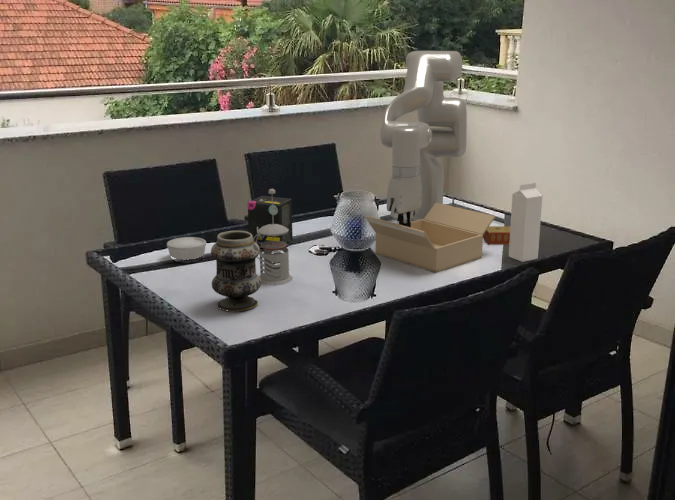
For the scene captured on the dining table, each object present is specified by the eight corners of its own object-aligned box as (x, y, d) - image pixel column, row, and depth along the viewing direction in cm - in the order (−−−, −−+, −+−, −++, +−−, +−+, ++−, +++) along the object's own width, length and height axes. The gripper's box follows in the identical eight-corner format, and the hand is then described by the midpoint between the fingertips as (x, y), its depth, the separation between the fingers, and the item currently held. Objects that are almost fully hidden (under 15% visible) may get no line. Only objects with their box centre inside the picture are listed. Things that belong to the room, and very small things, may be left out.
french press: (278, 287, 198) (275, 194, 191) (244, 280, 204) (239, 189, 197) (300, 276, 206) (298, 187, 199) (266, 270, 212) (262, 182, 205)
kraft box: (375, 253, 226) (375, 231, 224) (421, 240, 238) (421, 219, 236) (435, 272, 208) (436, 248, 206) (481, 257, 221) (483, 234, 219)
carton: (482, 238, 242) (483, 225, 240) (532, 237, 242) (533, 224, 241) (487, 245, 234) (488, 232, 232) (539, 245, 234) (540, 231, 233)
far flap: (435, 202, 238) (436, 203, 238) (423, 219, 236) (424, 220, 236) (494, 215, 221) (495, 217, 222) (482, 233, 219) (483, 235, 220)
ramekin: (214, 258, 223) (213, 241, 221) (183, 267, 215) (182, 250, 213) (191, 251, 230) (190, 234, 229) (160, 259, 222) (159, 242, 221)
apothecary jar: (271, 306, 185) (268, 236, 180) (227, 317, 179) (223, 245, 173) (247, 292, 195) (244, 225, 189) (204, 302, 188) (200, 233, 183)
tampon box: (248, 248, 232) (246, 201, 228) (262, 240, 241) (260, 195, 236) (280, 251, 228) (278, 204, 224) (293, 243, 237) (292, 197, 232)
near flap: (424, 231, 202) (423, 232, 202) (434, 247, 206) (433, 249, 206) (365, 215, 219) (364, 216, 218) (376, 231, 223) (375, 232, 223)
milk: (537, 259, 220) (544, 184, 213) (522, 262, 217) (527, 187, 210) (523, 253, 225) (528, 180, 218) (507, 256, 222) (512, 182, 215)
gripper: (413, 165, 216) (412, 227, 221) (376, 173, 206) (376, 237, 212) (433, 169, 210) (432, 232, 216) (396, 177, 201) (395, 243, 207)
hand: (404, 234), depth 214 cm, fingers closed
